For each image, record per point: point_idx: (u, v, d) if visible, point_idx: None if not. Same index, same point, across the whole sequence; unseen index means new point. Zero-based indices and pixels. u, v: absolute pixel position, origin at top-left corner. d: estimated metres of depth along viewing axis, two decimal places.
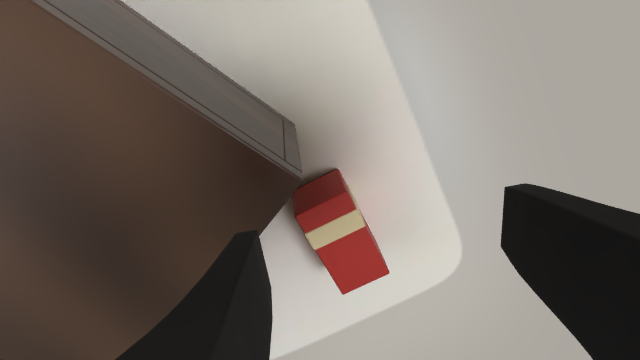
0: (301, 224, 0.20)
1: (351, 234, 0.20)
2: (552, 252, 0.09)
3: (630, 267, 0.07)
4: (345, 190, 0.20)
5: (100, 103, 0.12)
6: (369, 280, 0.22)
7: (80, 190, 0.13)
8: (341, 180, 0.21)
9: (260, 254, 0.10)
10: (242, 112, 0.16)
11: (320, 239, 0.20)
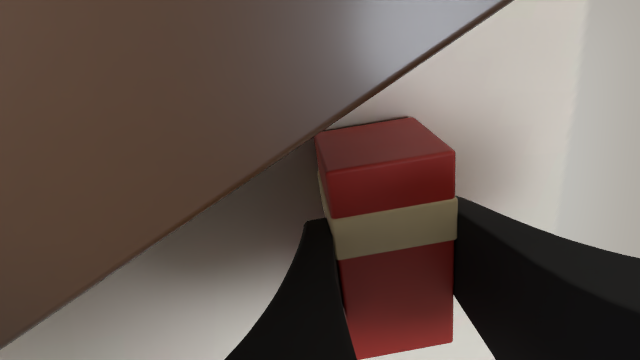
0: (333, 196, 0.09)
1: (421, 248, 0.10)
2: (470, 267, 0.09)
3: (525, 286, 0.07)
4: (451, 150, 0.09)
5: None
6: (412, 346, 0.11)
7: None
8: (431, 133, 0.10)
9: None
10: None
11: (359, 242, 0.09)
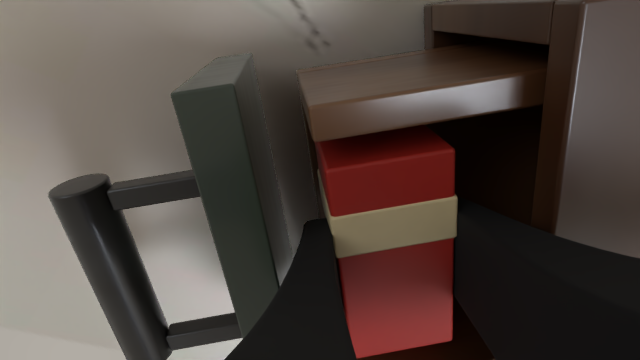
0: (332, 193, 0.09)
1: (421, 246, 0.10)
2: (470, 267, 0.09)
3: (524, 286, 0.07)
4: (451, 147, 0.09)
5: None
6: (412, 344, 0.11)
7: None
8: (431, 131, 0.10)
9: None
10: None
11: (359, 239, 0.09)
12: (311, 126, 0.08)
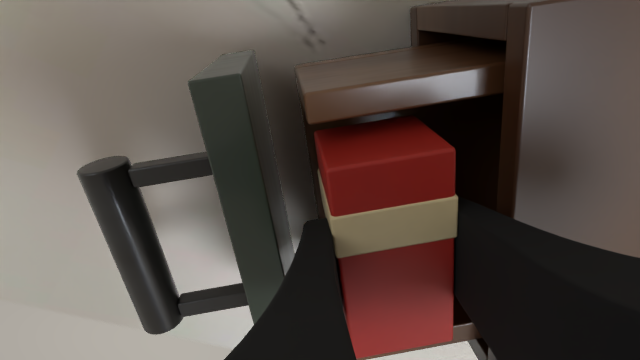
0: (333, 193, 0.09)
1: (421, 245, 0.10)
2: (471, 267, 0.09)
3: (526, 286, 0.07)
4: (452, 147, 0.09)
5: None
6: (412, 345, 0.11)
7: None
8: (432, 131, 0.10)
9: None
10: None
11: (359, 239, 0.09)
12: (306, 110, 0.09)
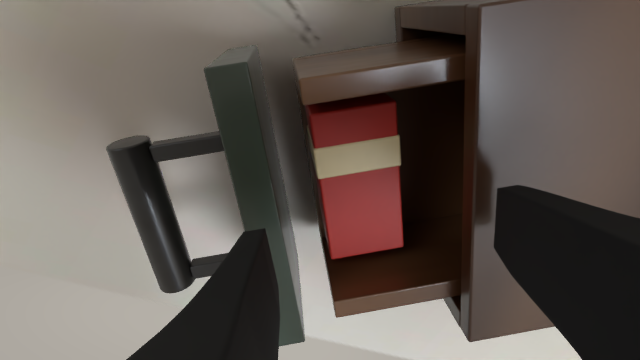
0: (314, 131, 0.13)
1: (376, 171, 0.14)
2: (543, 253, 0.09)
3: (619, 269, 0.07)
4: (394, 101, 0.13)
5: None
6: (374, 249, 0.15)
7: None
8: (384, 93, 0.14)
9: (268, 253, 0.10)
10: None
11: (333, 165, 0.14)
12: (301, 93, 0.11)
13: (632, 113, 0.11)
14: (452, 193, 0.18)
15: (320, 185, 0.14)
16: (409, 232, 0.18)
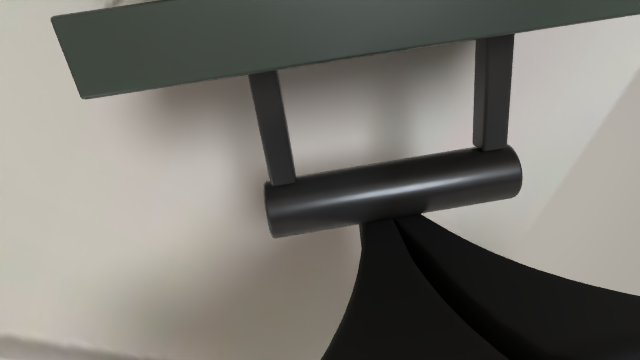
0: None
1: None
2: None
3: (447, 300, 0.07)
4: None
5: None
6: None
7: None
8: None
9: None
10: None
11: None
12: None
13: None
14: None
15: None
16: None
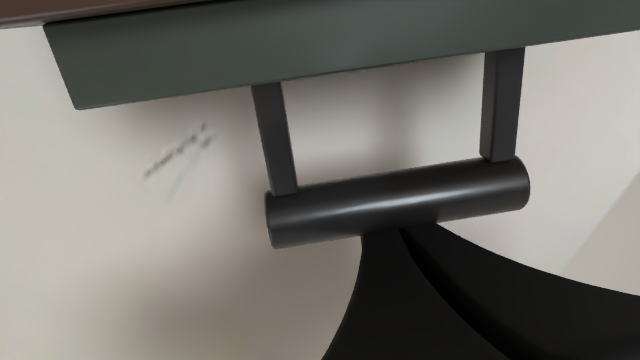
0: None
1: None
2: None
3: (447, 300, 0.07)
4: None
5: None
6: None
7: None
8: None
9: None
10: None
11: None
12: None
13: None
14: None
15: None
16: None
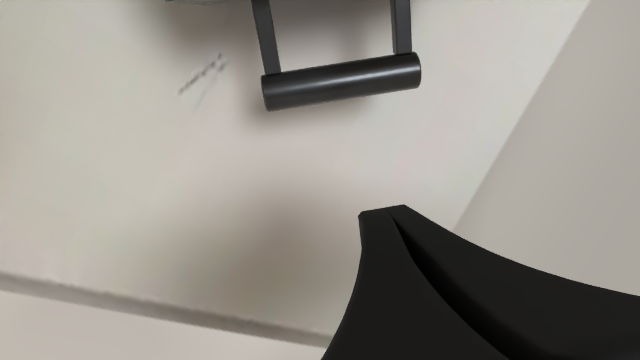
0: None
1: None
2: None
3: (447, 300, 0.07)
4: None
5: None
6: None
7: None
8: None
9: None
10: None
11: None
12: None
13: None
14: None
15: None
16: None
